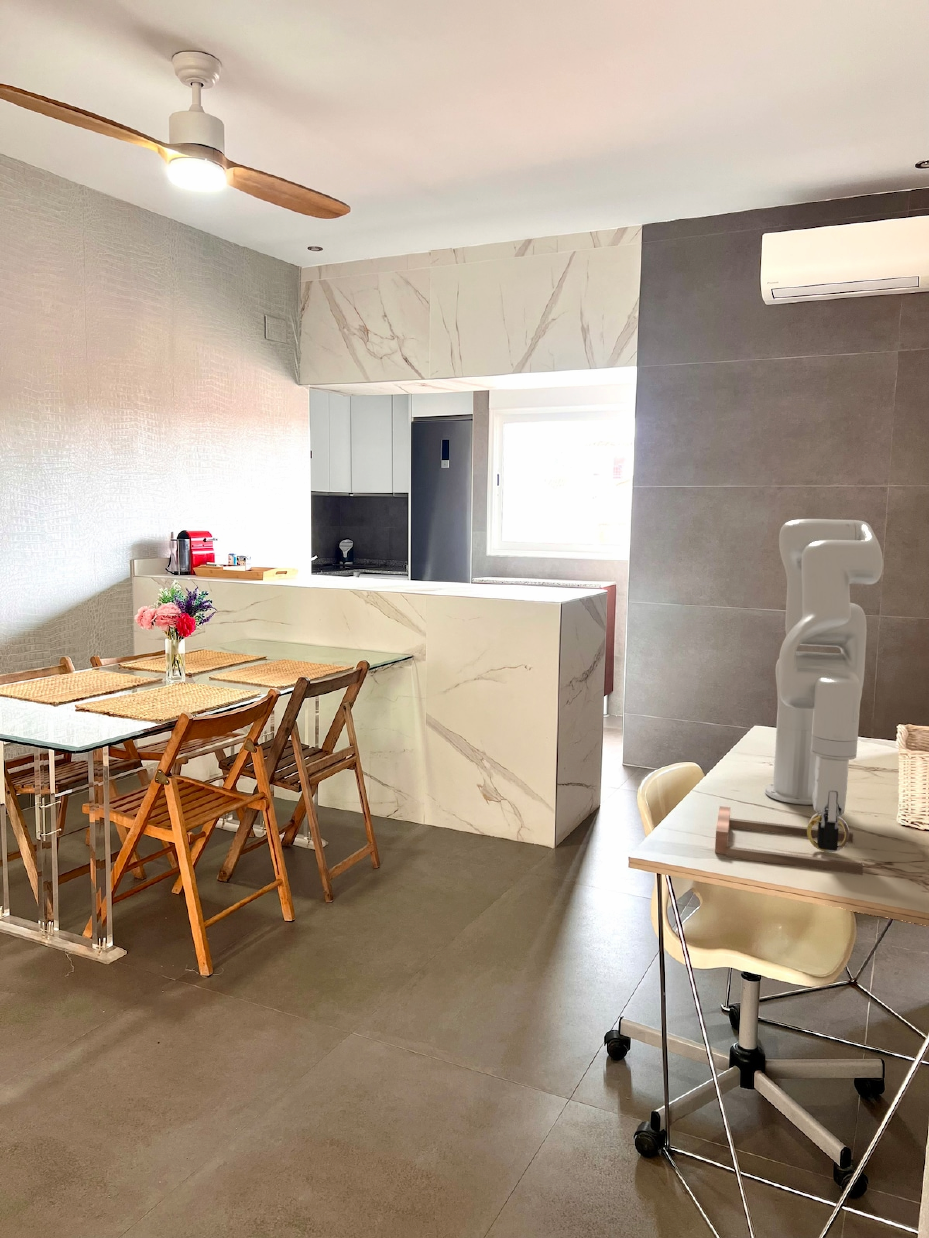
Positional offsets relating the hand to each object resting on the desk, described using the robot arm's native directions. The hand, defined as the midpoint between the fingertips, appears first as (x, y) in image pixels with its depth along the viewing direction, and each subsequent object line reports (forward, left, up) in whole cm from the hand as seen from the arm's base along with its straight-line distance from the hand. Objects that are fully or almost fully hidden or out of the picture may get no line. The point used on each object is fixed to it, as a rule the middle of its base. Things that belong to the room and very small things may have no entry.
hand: (827, 846), depth 159 cm
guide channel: (0, -7, -1) cm, 7 cm away
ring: (0, 0, -1) cm, 1 cm away
